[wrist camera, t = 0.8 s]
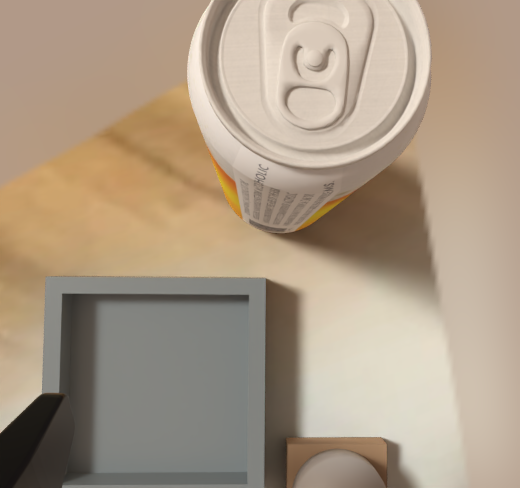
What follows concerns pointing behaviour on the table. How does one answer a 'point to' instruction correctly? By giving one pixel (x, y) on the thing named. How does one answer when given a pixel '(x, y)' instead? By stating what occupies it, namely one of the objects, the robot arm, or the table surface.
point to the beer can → (306, 99)
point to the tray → (159, 379)
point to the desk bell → (336, 462)
